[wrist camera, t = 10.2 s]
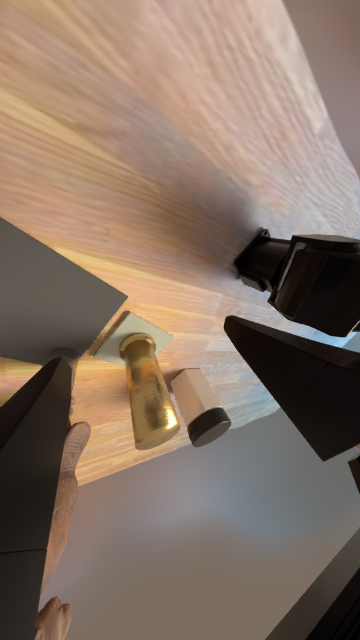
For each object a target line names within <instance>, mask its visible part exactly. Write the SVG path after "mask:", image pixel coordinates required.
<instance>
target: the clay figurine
mask: <svg viewBox="0 0 360 640" xmlns="http://www.w3.org/2000/svg"><path fill="white" fill-rule="evenodd" d="M74 402H75V399H74V398H72V397H71V405H70V407H71V406H72V405H73V404H74ZM72 414H73V409H72V408H70V412H69V417H70V416H71V415H72ZM90 433H91V428H90V425H89V424H88V423H87V422H79V423H75V424H73V425H72V426H71V422H70V418H68V425H67V431H66V437H65V443H64V449H63V456H62V462H61V468H60V474H59V481H58V487H57V493H56V499H55V505H54V512H53V518H52V524H51V530H50V536H49V543H48V547H47V548H46V549H48V550H47V556H46V562H45V569H44V575H43V581H42V587H41V593H42V591H43V589H44V587H45V586H46V584H47V583H48V581H49V579H50V577H51V575H52V573H53V572H54V570H55V568H56V565H57V563H58V561H59V559H60V556H61V554H62V552H63V549H64V547H65V545H66V542H67V539H68V527H69V523H70V519H71V515H72V512H73V509H74V506H75V502H76V498H77V492H78V482H77V479H76V477H75V468H76V465H77V462H78V459H79V457H80V455H81V453H82V451H83V450H84V448H85V446H86V444H87V442H88V440H89V437H90ZM40 595H41V594H40ZM70 622H71V613H70V605H69V604H68V603H67V604H62V605H61V600H59V599H58V597H57V596H56V597H54V598H52V599H50V601H48V602H47V604H46V605H45V606H44V608H43V609H42V610H40V611H39V612H37V618H36V625H35V631H34V637H33V640H64V639H65V637H66V634H67V631H68V627H69V624H70Z"/></svg>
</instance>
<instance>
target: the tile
mask: <svg viewBox="0 0 360 640" xmlns="http://www.w3.org/2000/svg"><path fill="white" fill-rule="evenodd" d="M133 333H147V334H149V335H151V336H152V337H153V339H154V341H155V344H156V351H155V355H156V356H157V355H158V354H159V353H160V352H161V351H162V350H163V349H164V348H165V346H166V345H167V344H168V343H169V342H170V341H171V340H172V339H173V338H174V336H173V335H172V334H170V333H168V332H167V331H165V330H163V329H161V328H159V327H157V326H156V325H154V324H152V323H150V322H148V321H147V320H145V319H143V318H141V317H139V316H138V315H136V314H134V313H132V312H130V311H129V313H128V314H127V315H126V316H125V318H124V319H123V320H122V321H121V323H120V324H119V325H118V326H117V327H116V329H115V330H114V331H113V332H112V334H111V335H110V336H109V337H108V338H107V340H106V341H105V342H104V343H103V345H102V346H101V347H100V348H99V349H98V351H97V352H96V353H95V354H94V358H96V359H100V360H104V361H107V362H111V363H115V364H118V365H122V366H125V361H123V360H122V359H121V357H120V353H119V346H120V343H121V341H122V340H123V339H124V338H125V337H127V336H129V335H131V334H133Z"/></svg>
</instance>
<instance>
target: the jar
mask: <svg viewBox="0 0 360 640" xmlns="http://www.w3.org/2000/svg"><path fill="white" fill-rule="evenodd" d="M170 384H171V387H172V390H173V393H174V396H175V400H176V403H177V405H178V408H179V411H180V413H181V415H182V417H183V420H184V422H185V425H186V428H187V431H188V434H189V438H190V440H191V442H192V444H193V446H194V447H200V446H203V445H206V444H208V443H210V442H212V441H213V440H215V439H217V438H218V437H219V436H221V435H222V434H223V433H225V432H226V431H227V430H228V429H229V427H230V426H231V421H230V419H229V417H228V416H227V414H226V412H225V411H224V409H223V404H222V403H221V401H220V400H219V398H218V396H217V395H216V393H215V391H214V390H213V388H212V387H211V385H210V383H209V382H208V380H207V378H206V377H205V375H204V374H203V372H202V370H201V369H185V370H183V371H182V372H181V373H180V374H179V375H178V376H176V377H175V378H174V379H173V380H172V381H171V382H170Z"/></svg>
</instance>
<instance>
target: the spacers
mask: <svg viewBox="0 0 360 640" xmlns="http://www.w3.org/2000/svg"><path fill="white" fill-rule="evenodd" d="M61 356H62V357H64V358H65V359H66V361H67V362H68V364H69V365H70V367H71V369H72V385H71V391H72V389H73V385H74V380H75V375H76V370H77V365H78V360H79V354H78V353H77V352H76V351H75V350H73V349H71V348H65V347H62V348H56V349H53V350H51V351H50V352H49V353H48V354H47V356H46V358H45V360H44V363H43V365H42V367H41V368H43V367H44V366H45V365H46V364H47V363H48V362H49V361H50V360H51V359H53V358H57V357H61Z"/></svg>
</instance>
